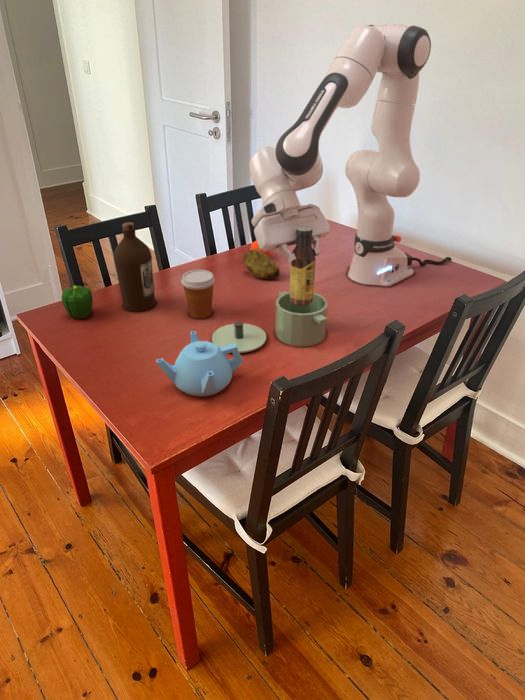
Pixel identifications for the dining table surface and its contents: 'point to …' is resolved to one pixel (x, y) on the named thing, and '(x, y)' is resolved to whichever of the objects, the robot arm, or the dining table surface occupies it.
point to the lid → (240, 336)
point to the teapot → (202, 367)
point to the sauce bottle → (302, 268)
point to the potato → (261, 265)
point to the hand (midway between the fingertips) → (304, 258)
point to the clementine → (257, 248)
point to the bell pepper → (77, 301)
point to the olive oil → (134, 271)
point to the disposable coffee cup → (198, 292)
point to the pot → (300, 320)
